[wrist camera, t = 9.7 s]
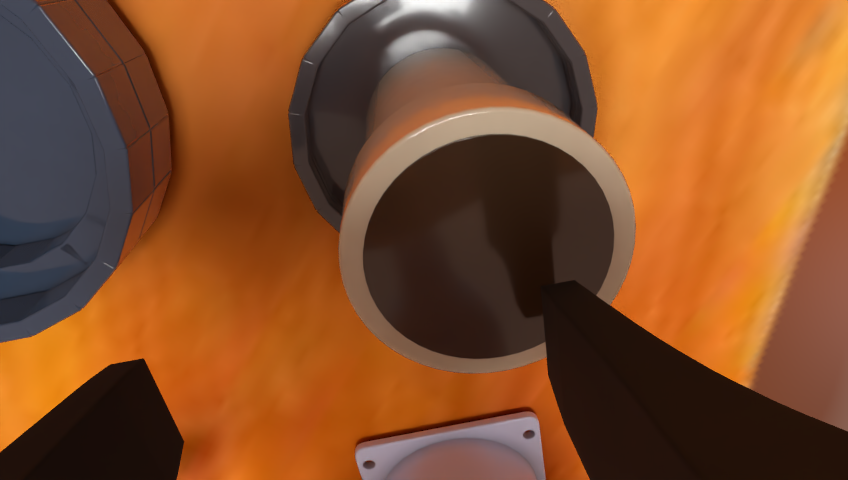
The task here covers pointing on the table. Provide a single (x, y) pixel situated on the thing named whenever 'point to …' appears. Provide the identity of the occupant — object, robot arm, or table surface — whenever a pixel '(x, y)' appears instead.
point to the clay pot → (475, 215)
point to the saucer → (406, 35)
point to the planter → (72, 156)
